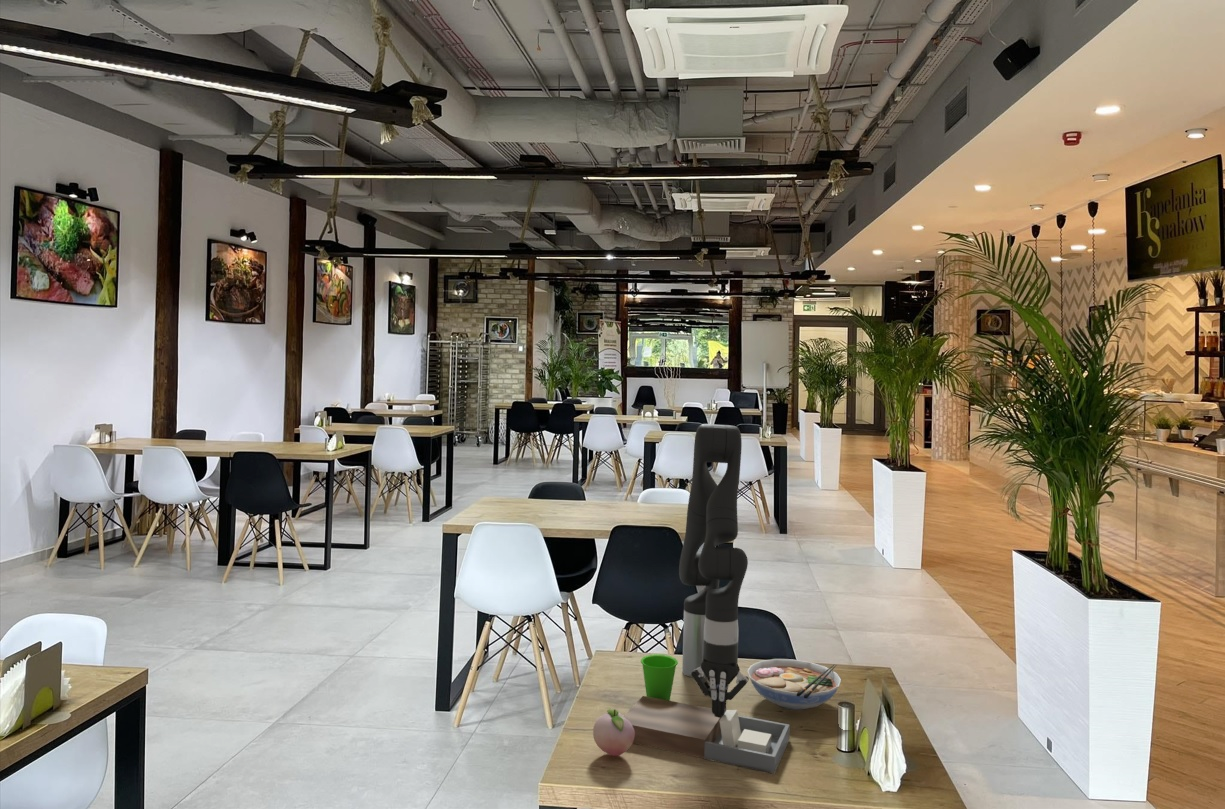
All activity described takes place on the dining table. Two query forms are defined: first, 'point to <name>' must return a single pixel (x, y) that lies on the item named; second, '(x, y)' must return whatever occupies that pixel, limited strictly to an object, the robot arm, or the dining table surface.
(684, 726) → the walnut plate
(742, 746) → the tile
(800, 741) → the dining table surface
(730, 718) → the tile
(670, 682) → the cup
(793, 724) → the dining table surface
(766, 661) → the ramen bowl
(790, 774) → the dining table surface
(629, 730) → the decorative fruit
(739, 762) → the box
